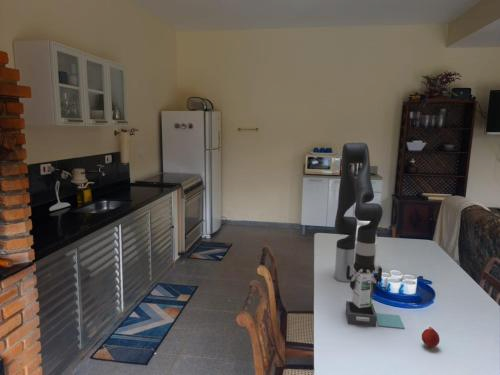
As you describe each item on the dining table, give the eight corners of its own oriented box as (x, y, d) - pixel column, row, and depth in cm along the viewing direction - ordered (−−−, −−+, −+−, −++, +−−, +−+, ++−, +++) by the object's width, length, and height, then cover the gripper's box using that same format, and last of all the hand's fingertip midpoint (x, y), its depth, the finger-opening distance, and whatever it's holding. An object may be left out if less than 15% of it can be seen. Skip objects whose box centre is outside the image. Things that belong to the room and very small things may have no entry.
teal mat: (374, 314, 157) (374, 312, 157) (399, 316, 156) (399, 315, 156) (378, 326, 148) (378, 325, 148) (404, 329, 146) (404, 328, 146)
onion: (433, 342, 137) (435, 322, 136) (441, 352, 132) (444, 331, 130) (417, 342, 137) (419, 322, 136) (425, 352, 132) (427, 331, 130)
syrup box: (359, 308, 149) (361, 274, 147) (351, 301, 155) (353, 269, 152) (371, 306, 151) (374, 273, 148) (363, 299, 156) (365, 267, 154)
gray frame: (345, 310, 160) (346, 301, 159) (371, 313, 158) (372, 303, 157) (348, 325, 148) (348, 315, 147) (376, 328, 146) (377, 318, 145)
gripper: (382, 249, 151) (378, 287, 154) (346, 247, 153) (343, 284, 156) (385, 256, 144) (382, 295, 147) (347, 253, 146) (345, 292, 149)
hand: (362, 289), depth 152 cm, fingers closed on syrup box, 7 cm apart
